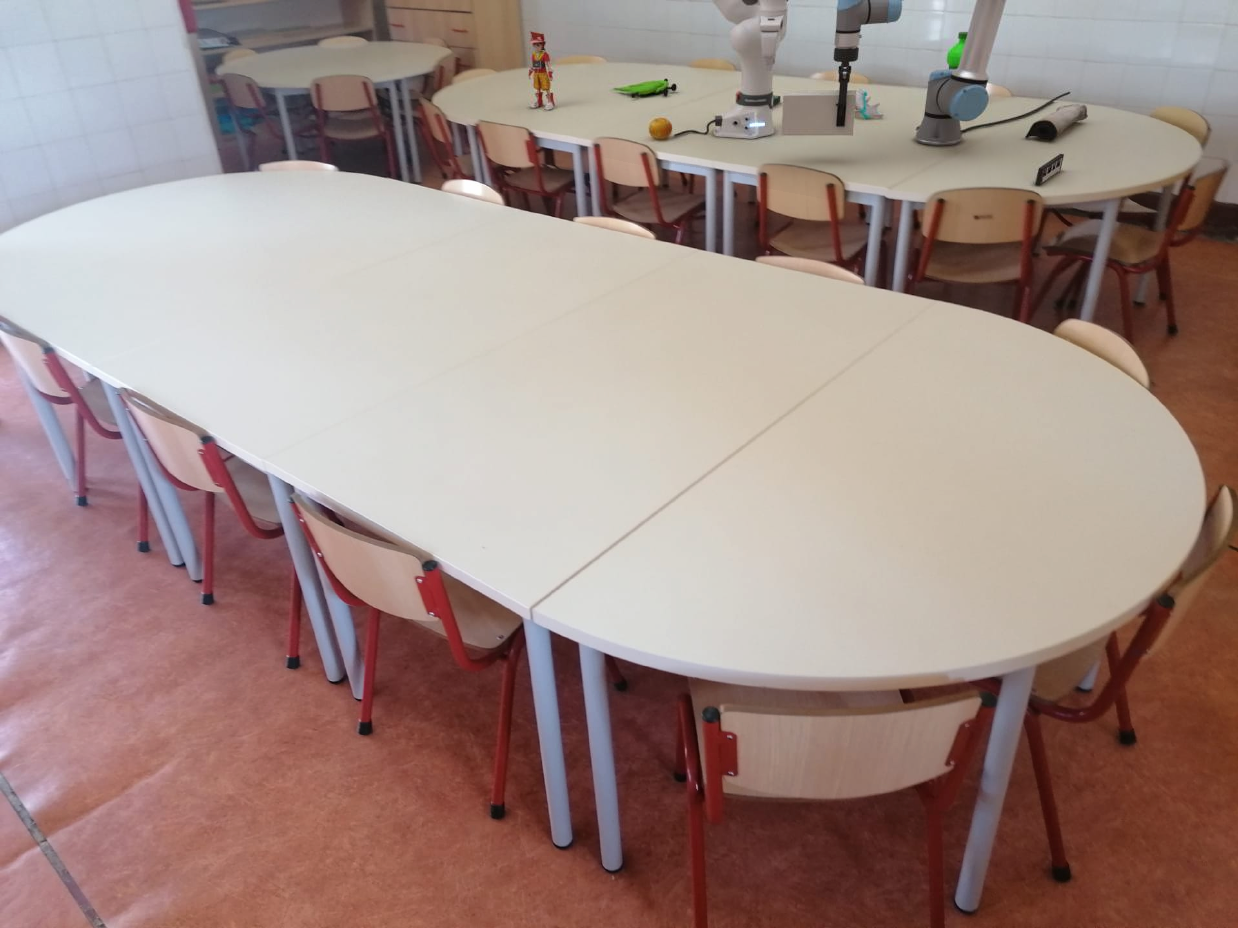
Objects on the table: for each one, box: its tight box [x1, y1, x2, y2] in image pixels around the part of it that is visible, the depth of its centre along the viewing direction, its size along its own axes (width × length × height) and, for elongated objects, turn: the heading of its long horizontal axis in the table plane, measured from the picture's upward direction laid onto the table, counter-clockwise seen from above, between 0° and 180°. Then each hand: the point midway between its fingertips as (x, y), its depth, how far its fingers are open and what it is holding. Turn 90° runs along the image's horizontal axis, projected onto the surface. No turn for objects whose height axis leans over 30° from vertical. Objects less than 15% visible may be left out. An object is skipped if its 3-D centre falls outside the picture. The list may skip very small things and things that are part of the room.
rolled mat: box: [1024, 103, 1089, 142], centre depth 314 cm, size 30×9×10 cm
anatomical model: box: [855, 88, 884, 120], centre depth 343 cm, size 15×10×10 cm
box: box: [780, 89, 857, 136], centre depth 292 cm, size 23×6×12 cm, turn 77°
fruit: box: [648, 117, 673, 140], centre depth 332 cm, size 8×8×8 cm
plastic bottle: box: [946, 31, 968, 69], centre depth 348 cm, size 10×10×25 cm
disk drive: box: [772, 94, 781, 107], centre depth 365 cm, size 10×3×15 cm
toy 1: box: [527, 31, 556, 111], centre depth 374 cm, size 12×9×30 cm
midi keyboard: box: [1035, 153, 1065, 186], centre depth 273 cm, size 18×1×5 cm, turn 138°
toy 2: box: [612, 78, 677, 99], centre depth 396 cm, size 28×5×30 cm
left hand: (770, 67), depth 289 cm, fingers open, 8 cm apart
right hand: (840, 123), depth 292 cm, fingers closed on box, 6 cm apart
